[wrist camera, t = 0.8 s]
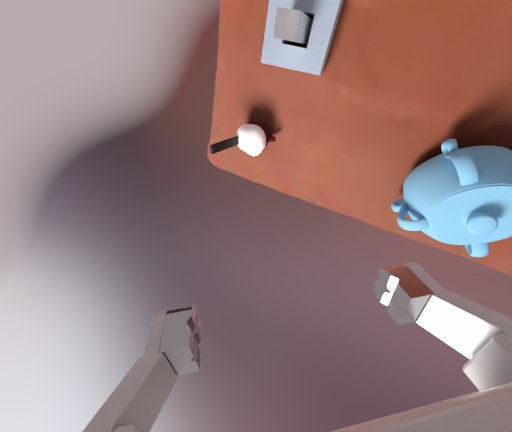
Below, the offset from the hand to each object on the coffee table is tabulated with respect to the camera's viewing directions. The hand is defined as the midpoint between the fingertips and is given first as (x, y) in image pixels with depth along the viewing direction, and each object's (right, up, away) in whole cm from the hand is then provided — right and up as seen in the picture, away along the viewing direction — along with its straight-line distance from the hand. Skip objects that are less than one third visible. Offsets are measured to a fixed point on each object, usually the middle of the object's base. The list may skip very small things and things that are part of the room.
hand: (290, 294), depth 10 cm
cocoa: (-1, +21, +39) cm, 45 cm away
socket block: (+6, +33, +27) cm, 43 cm away
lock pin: (+6, +33, +27) cm, 43 cm away
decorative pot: (+34, +10, +32) cm, 48 cm away
